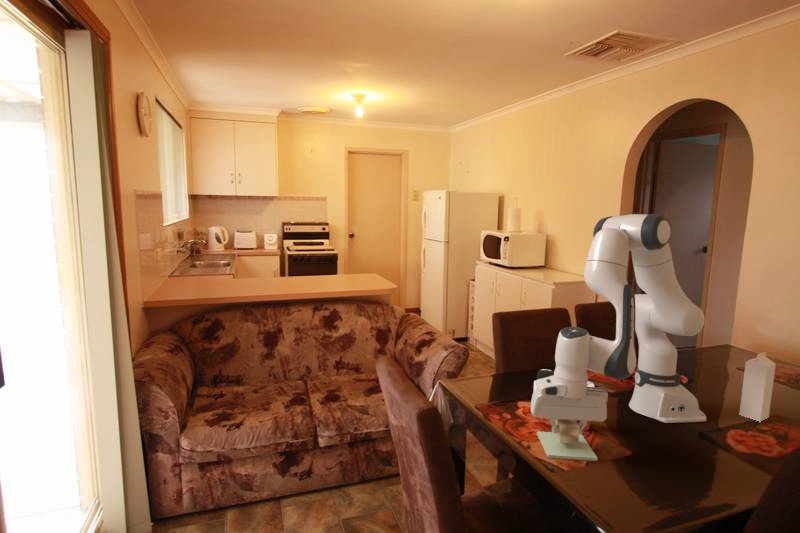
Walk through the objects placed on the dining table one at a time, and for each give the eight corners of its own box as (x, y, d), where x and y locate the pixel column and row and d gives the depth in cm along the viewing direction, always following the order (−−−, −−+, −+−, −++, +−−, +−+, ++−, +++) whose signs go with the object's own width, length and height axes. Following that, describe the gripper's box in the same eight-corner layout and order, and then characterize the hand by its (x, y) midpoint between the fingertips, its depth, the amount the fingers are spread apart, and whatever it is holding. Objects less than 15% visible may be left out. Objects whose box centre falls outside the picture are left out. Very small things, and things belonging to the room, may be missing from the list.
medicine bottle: (556, 410, 148) (559, 375, 146) (534, 407, 149) (536, 373, 148) (553, 401, 155) (556, 368, 153) (532, 399, 156) (534, 366, 155)
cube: (572, 434, 126) (573, 418, 126) (578, 443, 121) (579, 426, 121) (554, 433, 127) (556, 417, 126) (559, 442, 122) (561, 425, 121)
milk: (768, 419, 145) (777, 354, 142) (760, 423, 142) (769, 357, 139) (747, 411, 150) (755, 349, 147) (738, 415, 147) (746, 351, 144)
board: (581, 436, 130) (581, 434, 130) (597, 460, 117) (597, 458, 117) (536, 433, 131) (536, 431, 131) (547, 457, 118) (548, 455, 118)
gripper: (604, 383, 124) (600, 429, 126) (530, 379, 126) (527, 425, 128) (612, 392, 118) (608, 440, 120) (535, 388, 120) (532, 436, 121)
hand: (566, 432), depth 124 cm, fingers closed on cube, 5 cm apart
